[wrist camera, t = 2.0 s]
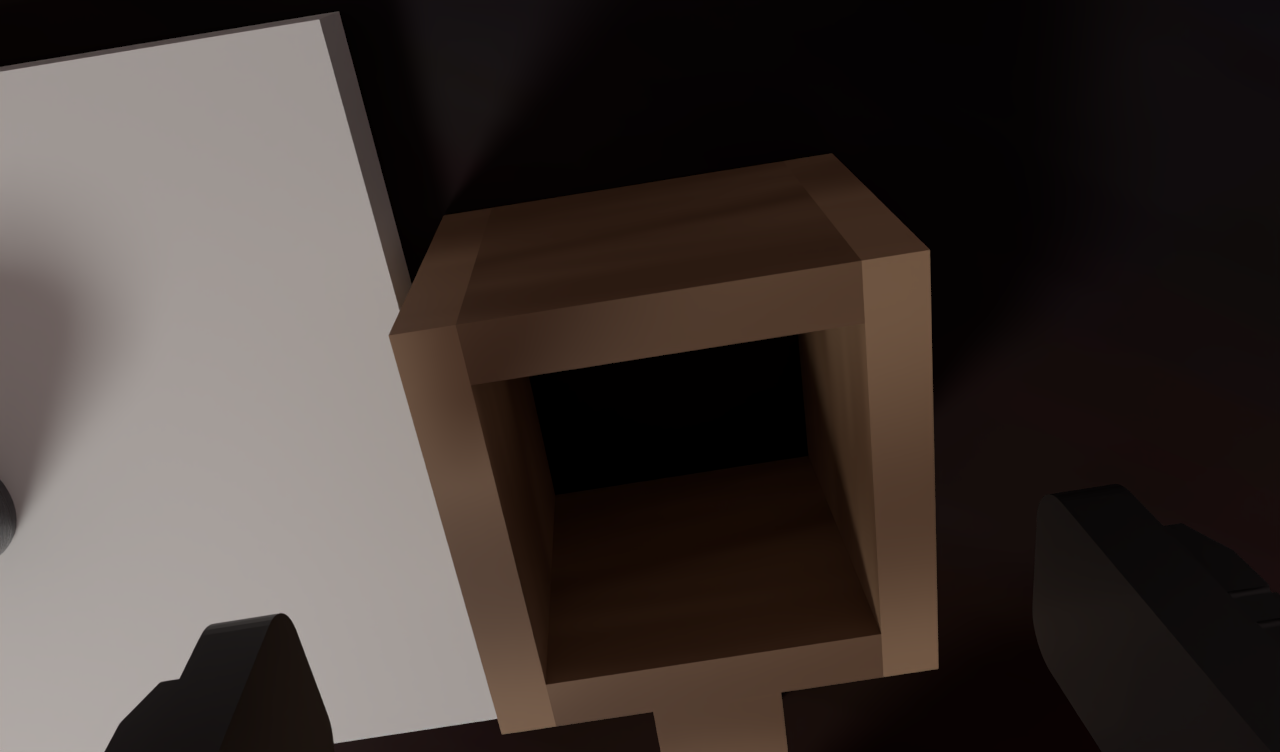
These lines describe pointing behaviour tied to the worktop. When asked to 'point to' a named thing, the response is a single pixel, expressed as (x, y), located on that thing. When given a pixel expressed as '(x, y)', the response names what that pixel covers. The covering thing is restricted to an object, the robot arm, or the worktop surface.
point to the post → (6, 518)
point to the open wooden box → (694, 503)
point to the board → (210, 389)
